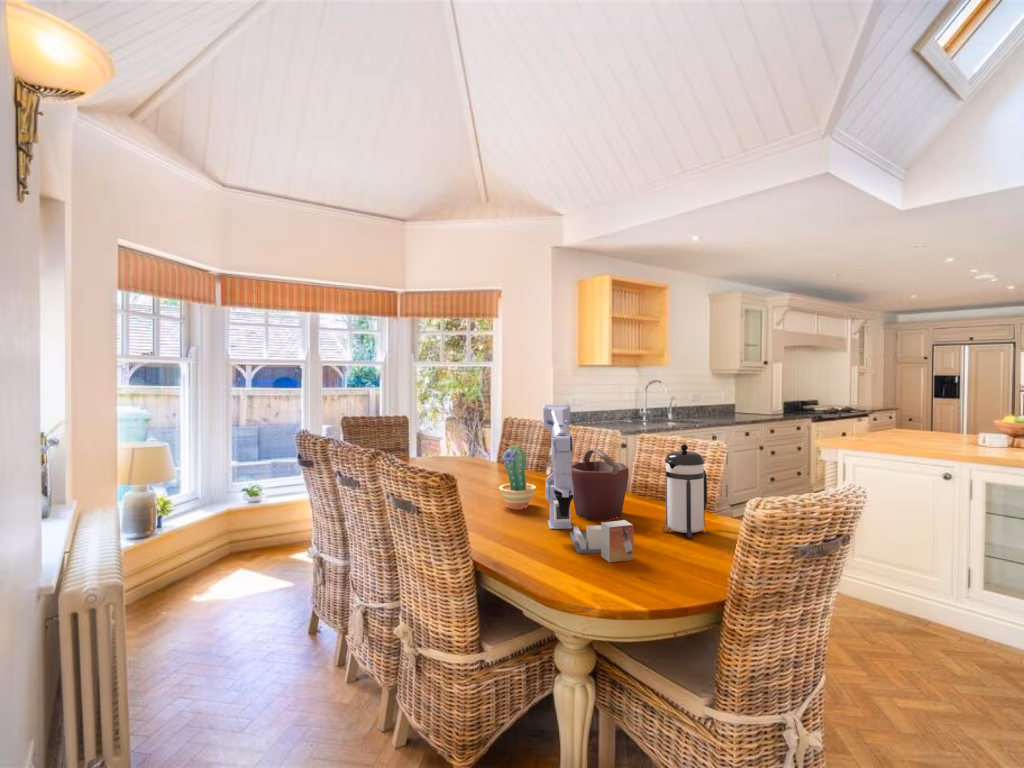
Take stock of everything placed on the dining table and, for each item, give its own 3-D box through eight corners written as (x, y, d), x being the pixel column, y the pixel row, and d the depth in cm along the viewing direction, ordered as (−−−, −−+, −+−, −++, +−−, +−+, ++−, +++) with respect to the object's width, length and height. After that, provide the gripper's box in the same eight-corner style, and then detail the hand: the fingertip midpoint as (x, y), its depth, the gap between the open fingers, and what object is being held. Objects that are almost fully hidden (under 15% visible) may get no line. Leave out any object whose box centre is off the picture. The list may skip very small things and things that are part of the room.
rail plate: (569, 534, 178) (569, 514, 178) (604, 533, 178) (604, 513, 178) (577, 553, 160) (577, 530, 160) (616, 552, 160) (616, 529, 160)
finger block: (554, 518, 174) (553, 500, 173) (569, 517, 174) (568, 499, 174) (555, 522, 169) (554, 503, 169) (570, 521, 169) (570, 503, 169)
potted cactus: (493, 504, 219) (491, 444, 218) (526, 499, 226) (525, 441, 225) (508, 513, 205) (507, 449, 204) (543, 508, 212) (542, 446, 211)
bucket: (634, 523, 189) (633, 454, 188) (572, 525, 189) (571, 455, 188) (619, 505, 214) (618, 444, 213) (564, 507, 213) (563, 445, 212)
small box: (609, 563, 152) (608, 527, 151) (600, 556, 157) (600, 521, 157) (634, 560, 154) (633, 524, 153) (625, 553, 159) (624, 519, 159)
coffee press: (715, 540, 169) (715, 448, 168) (664, 538, 172) (663, 447, 171) (706, 524, 186) (706, 440, 185) (660, 523, 189) (659, 440, 188)
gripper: (548, 468, 178) (549, 508, 179) (552, 477, 164) (553, 520, 164) (569, 468, 178) (570, 507, 179) (575, 477, 164) (575, 520, 164)
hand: (563, 514), depth 171 cm, fingers closed on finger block, 4 cm apart
